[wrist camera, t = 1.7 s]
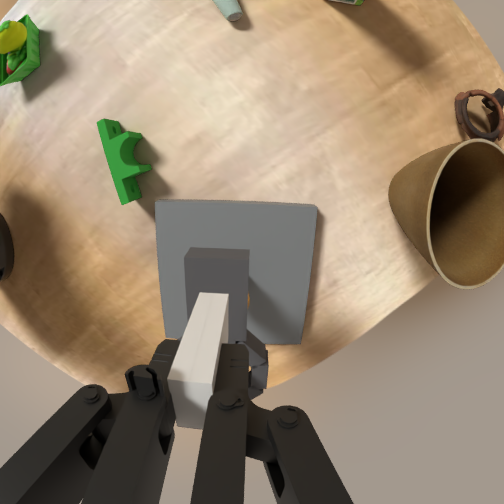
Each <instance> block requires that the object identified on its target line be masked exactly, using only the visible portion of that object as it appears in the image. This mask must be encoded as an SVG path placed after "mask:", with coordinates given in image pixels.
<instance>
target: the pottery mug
mask: <svg viewBox="0 0 504 504" xmlns="http://www.w3.org/2000/svg"><path fill="white" fill-rule="evenodd" d="M477 95H479V96H484V98H483V99H482V102H483V104H484V105H485V106H486V108H488V109H490V110H492V111H493V112H491V113H490V114H488V115H487V117H488V119H489V122H490V126H491V133H483V132H481V131H479V130H478V129H476V128H475V127H474V126H473V125H472V123H471V122H470V120H469V118H468V114H467V103H468V100H469V99H468V98H469V97H470V96H472V97H473V96H477ZM503 106H504V91H503V90H502V89H499V88H498V89H497V90H496V91H495V92H494V93H493V94H489V93H487V92H486V91H483V90H471V91H467V92H466V93H464V92H460V93H459V94H458V95H457V96H456V97H455V111H456V116H457V119H458V122H459V124H462V126H461V127H462V129H463V130H464V131H465V132H466V133H467V134H468V136H469V137H470V139H485V140H488V141H491V142H494V141H495V140H496V139H497V138H498V141H500V140H501V138H502V137H503V134H504V114H503V110H502V109H503Z"/></svg>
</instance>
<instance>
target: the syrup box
mask: <svg viewBox="0 0 504 504" xmlns="http://www.w3.org/2000/svg"><path fill="white" fill-rule="evenodd" d="M330 1H336V2H342V3H348V4H354V5H359V6H360V5H361V4H362V3H363V1H364V0H330Z"/></svg>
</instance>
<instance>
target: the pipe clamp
mask: <svg viewBox="0 0 504 504" xmlns="http://www.w3.org/2000/svg"><path fill="white" fill-rule="evenodd" d="M97 126H98V130H99V134H100V137H101V141H102V144H103V148H104V151H105V155H106V158H107V162H108V165H109V168H110V171H111V174H112V178H113V181H114V184H115V187H116V190H117V193H118V196H119V199H120V202H121V204H122V205H124V204H127V203H129V202H131V201H134V200H136V199H139V198H141V197H142V196H141V193H140V190H139V187H138V184H137V181H136V178H135V176H137V175H140V174H142V173H145V172H147V171H149V170H152V168H151V165H150V164H148V165H142V164H140V163H138V162H137V161H136V160H135V158H134V153H133V151H134V147H135V145H136V143H137V142H138V141H139V140H140V139H142V136H141V133H136V132H130V131H127V132H125V133H123V134H122V132H121V128H120V125H119V122H118V121H114V120H109V119H102V120H100V121H98V122H97Z"/></svg>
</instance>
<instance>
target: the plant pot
mask: <svg viewBox="0 0 504 504" xmlns="http://www.w3.org/2000/svg"><path fill="white" fill-rule="evenodd" d="M388 196H389V202H390V205H391V208H392V210H393V213H394V215H395V217H396V219H397V221H398V222H399V224H400V226H401V227H402V229H403V231H404V232H405V234H406V235H407V236H408V238H409V239H410V241H411V242H412V243H413V245H414V246H415V247H416V249H417V250H418V251H419V252H420V253H421V255H422V256H423V257H424V258H425V259H426V261H427V262H428V263H429V264H430V265H431V266H432V267H433V268H434V269H435V271H436V272H437V273H438V274H439V275H440V276H441V277H442V278H443V279H444V280H445V281H446V282H447V283H449V284H450V285H452V286H454V287H456V288H460V289H475V288H478V287H480V286H483V285H484V284H486V283H488V282H489V281H491V280H492V279H493V278H494V277H495V276H496V275H497V274H498V273H499V272H500V271H501V270H502V269H503V267H504V151H503V150H502V149H501V148H500V147H499V146H498V145H496V144H495V143H493V142H491V141H488V140H485V139H471V140H466V141H462V142H458V143H455V144H451V145H448V146H444V147H441V148H438V149H436V150H433V151H431V152H429V153H426V154H424V155H422V156H421V157H419V158H417V159H415V160H414V161H412V162H410V163H409V164H408V165H406V166H405V167H404V168H402V169H401V170H400V171H399V172H398V173H397V174H396V175H395V176H394V178H393V179H392V181H391V183H390V186H389V194H388Z"/></svg>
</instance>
